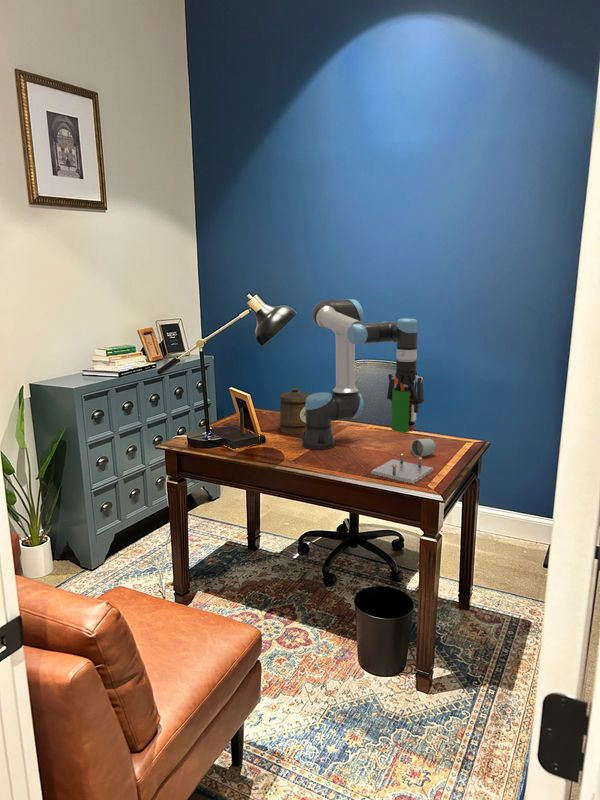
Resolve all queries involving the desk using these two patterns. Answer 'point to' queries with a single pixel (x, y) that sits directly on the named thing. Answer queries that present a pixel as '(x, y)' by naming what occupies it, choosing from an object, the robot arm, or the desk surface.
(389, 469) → the mounting plate
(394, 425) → the motor
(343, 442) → the desk surface
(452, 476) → the desk surface
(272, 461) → the desk surface
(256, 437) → the diary
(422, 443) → the ceramic mug
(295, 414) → the wooden container
